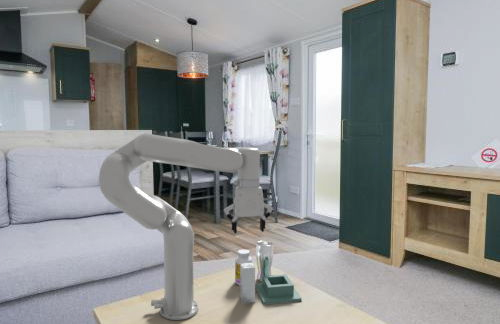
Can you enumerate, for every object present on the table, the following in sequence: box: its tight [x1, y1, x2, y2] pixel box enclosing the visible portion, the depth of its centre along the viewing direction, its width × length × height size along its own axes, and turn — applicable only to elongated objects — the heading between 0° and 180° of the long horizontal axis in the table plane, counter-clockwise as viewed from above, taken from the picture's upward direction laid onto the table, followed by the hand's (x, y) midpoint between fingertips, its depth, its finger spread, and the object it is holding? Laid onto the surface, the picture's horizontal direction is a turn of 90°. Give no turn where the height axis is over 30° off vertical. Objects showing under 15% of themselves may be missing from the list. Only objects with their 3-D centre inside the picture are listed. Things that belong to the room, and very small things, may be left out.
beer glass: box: [255, 240, 274, 283], centre depth 145 cm, size 7×7×15 cm
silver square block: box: [239, 262, 256, 305], centre depth 128 cm, size 4×4×13 cm
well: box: [255, 273, 303, 305], centre depth 134 cm, size 14×14×5 cm
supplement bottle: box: [234, 249, 253, 286], centre depth 142 cm, size 7×7×13 cm
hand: (248, 231), depth 126 cm, fingers open, 9 cm apart
